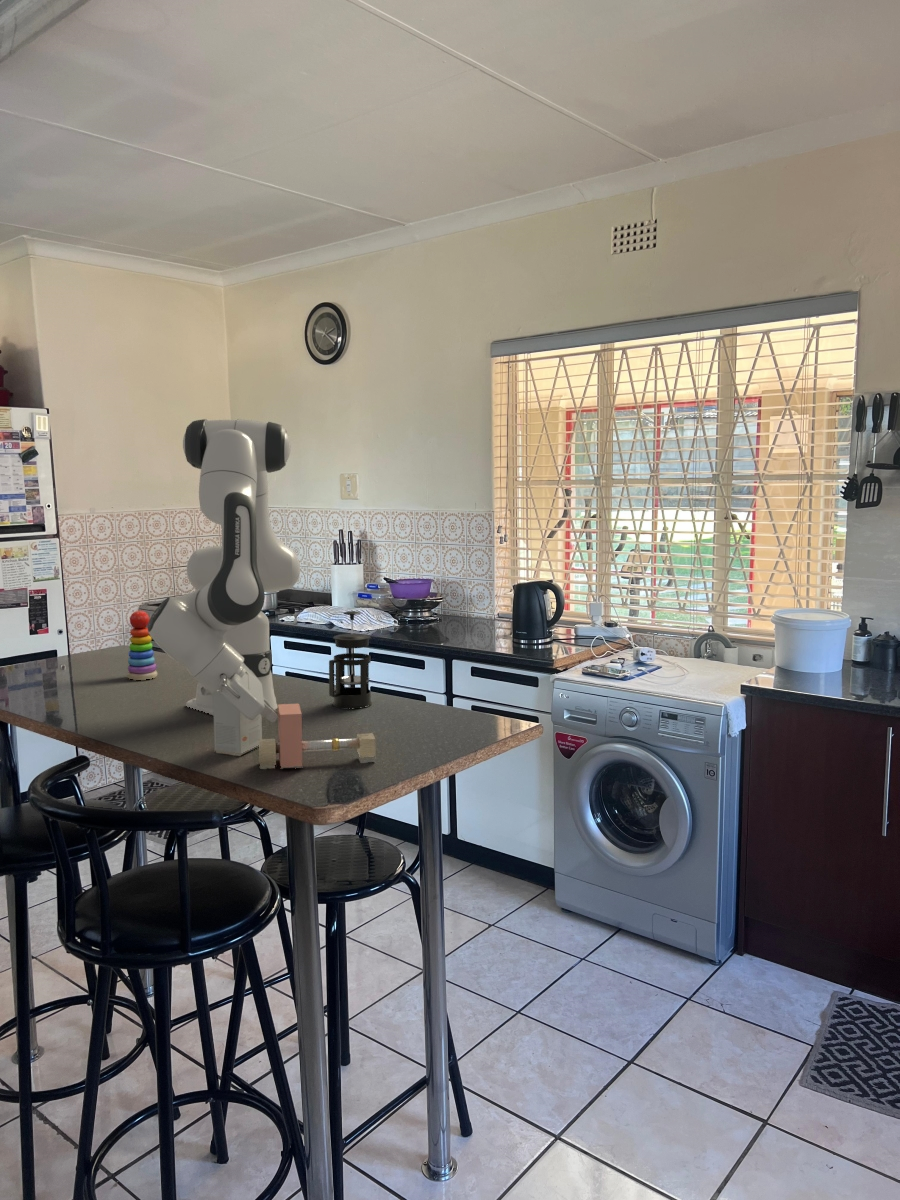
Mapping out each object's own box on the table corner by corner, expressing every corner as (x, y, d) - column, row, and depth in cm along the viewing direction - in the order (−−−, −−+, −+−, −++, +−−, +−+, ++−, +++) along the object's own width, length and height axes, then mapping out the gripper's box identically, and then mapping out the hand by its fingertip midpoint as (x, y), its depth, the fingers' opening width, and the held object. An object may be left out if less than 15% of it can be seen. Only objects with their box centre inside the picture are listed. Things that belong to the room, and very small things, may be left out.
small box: (236, 742, 187) (235, 681, 186) (263, 746, 185) (261, 684, 183) (213, 753, 180) (211, 689, 178) (240, 757, 178) (238, 692, 176)
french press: (357, 697, 227) (357, 607, 224) (381, 704, 221) (381, 611, 218) (319, 705, 219) (318, 611, 216) (343, 712, 213) (342, 616, 210)
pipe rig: (259, 769, 170) (259, 745, 169) (259, 763, 174) (258, 739, 173) (375, 762, 175) (375, 738, 174) (372, 756, 179) (372, 733, 178)
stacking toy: (125, 676, 249) (123, 609, 247) (155, 674, 253) (153, 608, 250) (128, 682, 242) (125, 613, 240) (159, 679, 246) (157, 611, 243)
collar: (280, 769, 169) (279, 714, 167) (278, 756, 176) (277, 704, 175) (302, 768, 170) (301, 713, 168) (299, 755, 177) (298, 703, 176)
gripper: (233, 668, 158) (290, 720, 161) (233, 647, 178) (284, 694, 181) (207, 694, 158) (265, 745, 161) (210, 670, 177) (262, 716, 181)
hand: (275, 718), depth 171 cm, fingers closed, pressing on collar
